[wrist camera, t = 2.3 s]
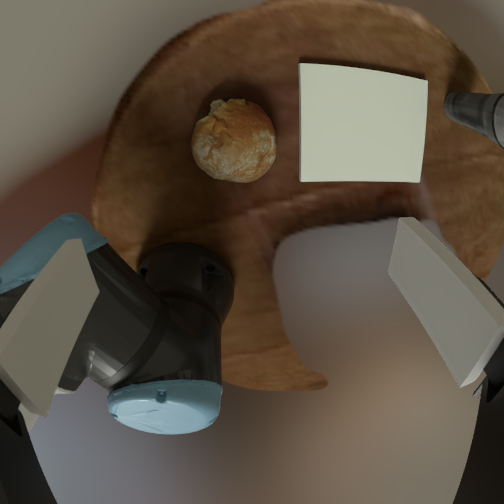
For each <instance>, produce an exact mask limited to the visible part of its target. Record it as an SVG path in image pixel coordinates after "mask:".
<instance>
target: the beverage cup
mask: <svg viewBox="0 0 504 504" xmlns="http://www.w3.org/2000/svg"><path fill="white" fill-rule="evenodd" d="M444 110H445V113H446V115H447V116H448V118H449V119H451V120H453V121H455V122H457V123H459V124H461V125H463V126H465V127H467V128H469V129H472V130H474V131H476V132H478V133H480V134H482V135H484V136H486V137H488V138H490V139H491V140H492V141H494V142H495V143H497V144H498V145H499V146H500V147H502V148H503V149H504V93H499V94H484V93H468V92H455V93H454V92H452V93H449V94H448V95H447V96H446V98H445V101H444Z"/></svg>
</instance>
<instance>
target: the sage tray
mask: <svg viewBox="0 0 504 504" xmlns="http://www.w3.org/2000/svg"><path fill="white" fill-rule="evenodd" d="M298 70H299V180H300V181H301V182H312V181H391V182H420V175H421V168H422V160H423V151H424V141H425V130H426V115H427V92H428V81H426V80H422V79H417V78H413V77H408V76H403V75H398V74H393V73H388V72H382V71H375V70H369V69H362V68H354V67H345V66H335V65H323V64H307V63H299V64H298Z"/></svg>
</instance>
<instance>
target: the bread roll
mask: <svg viewBox="0 0 504 504" xmlns="http://www.w3.org/2000/svg"><path fill="white" fill-rule="evenodd" d="M210 106H211V108H210V109H209V110H208V113H207V116H206V117H204V118H202V119H200V120H199V121H198V122H196V126H195V128H194V131H193V135H192V139H191V148H192V149H191V150H192V155H193V158H194V160H195V162H196V164H197V166H198V167H199V168H201V169H202V170H203V171H205V172H206V173H207V174H208V175H209V176H211V177H213V178H215V179H221V180H227V181H233V182H239V183H249V182H252V181H255V180H257V179H259V178H260V177H262V176H263V175H264V174H265V173H266V172H267V171H268V170H269V169H270V167H271V166H272V164H273V162H274V160H275V157H276V136H275V130H274V127H273V124H272V122H271V120H270V118H269V116H268V115H267V114H266V113H265V112H264V110H263V109H262V108H261V107H260V106H259V105H257V104H254V103H251V102H249V101H247V99H236V98H233V97H231V96H228V97H226V98H225V99H224V100H221V99H219V100H216V101H213V102H212V103H211V104H210Z"/></svg>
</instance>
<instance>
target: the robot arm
mask: <svg viewBox="0 0 504 504" xmlns="http://www.w3.org/2000/svg"><path fill="white" fill-rule="evenodd" d="M108 242H109V240H108V239H107V238H106V237H102V236H101V235H100V234H99V233H98V232H97V231H96V230H95V229H94V228H93V227H92V226H91V225H90V224H89V223H88V222H87V220H85V218H83V217H82V216H80V215H79V214H75V213H68V214H65V215H62V216H60V217H58V218H57V219H55V220H54V221H52V222H51V223H50V224H48V225H47V226H46V227H44V228H43V229H42V230H40V231H39V232H38V233H37V234H35V235H34V236H33V237H32V238H31V239H29V240H28V241H27V242H26V243H25V244H24V245H23V246H21V247H20V248H19V249H18V250H17V251H16V252H15V253H14V254H13V255H12V256H11V257H10V258H9V259H8V260H7V261H6V262H5V263H4V264H3V265H2V266H1V268H0V504H57V502H56V500H55V498H54V496H53V494H52V492H51V490H50V487H49V485H48V483H47V481H46V478H45V476H44V474H43V472H42V469H41V467H40V464H39V461H38V459H37V456H36V454H35V451H34V448H33V445H32V442H31V440H30V436H29V431H30V429H31V428H32V426H33V425H34V423H35V422H36V420H37V419H38V417H39V416H40V415H41V416H45V417H46V416H47V414H48V411H49V408H50V405H51V402H52V399H53V396H54V395H55V394H71V393H74V392H75V391H76V390H77V389H78V387H79V386H80V384H81V383H82V382H83V380H84V379H85V378H86V377H89V378H90V379H92V380H93V381H95V382H96V383H98V384H99V385H101V386H102V387H103V388H105V389H106V390H107V391H109V393H110V394H109V395H108V397H107V403H108V410H109V412H110V413H111V415H112V416H113V417H114V418H115V419H116V420H118V421H119V422H121V423H122V424H124V425H127V426H129V427H132V428H134V429H137V430H141V431H146V432H151V433H158V434H184V433H190V432H195V431H198V430H201V429H204V428H206V427H208V426H209V425H211V424H212V423H213V422H214V421H215V420H216V418H217V416H218V415H219V411H220V399H221V394H222V392H223V388H222V386H221V385H222V382H221V327H222V325H223V323H224V321H225V319H226V317H227V315H228V313H229V311H230V309H231V307H232V303H233V299H234V282H233V277H232V274H231V272H230V270H229V268H228V267H227V265H226V264H225V263H224V261H223V260H222V259H221V258H220V257H218V256H217V255H216V254H214V253H213V252H211V251H210V250H208V249H206V248H203V247H201V246H198V245H194V244H189V243H171V244H166V245H163V246H160V247H158V248H156V249H154V250H153V251H151V252H150V253H149V254H147V255H146V256H145V258H144V259H143V260H142V262H141V263H140V265H139V268H138V270H137V272H135V271H134V270H133V269H132V268H131V267H130V266H129V265H128V264H127V263H126V262H125V261H124V260H123V259H122V258H121V257H120V255H119V254H118V253H117V252H116V251H115V250H114V249H113V248H112V247H111V246H110V245H109V243H108ZM388 274H389V275H390V277H391V278H392V280H393V281H394V283H395V284H396V285H397V287H398V288H399V290H400V291H401V293H402V294H403V296H404V297H405V299H406V300H407V302H408V303H409V305H410V306H411V308H412V309H413V311H414V312H415V314H416V315H417V317H418V318H419V320H420V322H421V323H422V325H423V326H424V328H425V330H426V331H427V333H428V334H429V336H430V338H431V339H432V341H433V342H434V344H435V346H436V348H437V349H438V351H439V352H440V354H441V356H442V358H443V359H444V361H445V363H446V365H447V366H448V368H449V370H450V372H451V374H452V375H453V377H454V379H455V381H456V383H457V384H458V386H459V388H460V387H463V386H465V385H467V384H470V383H472V382H474V381H475V380H476V379H477V378H478V376H479V375H480V374H481V372H482V371H483V370H484V371H485V373H486V375H487V376H486V377H485V379H484V380H483V381H482V383H481V384H480V385H479V386H478V388H477V389H476V390H475V392H474V393H473V397H475V396H476V395H477V394H478V393H479V392H480V390H482V391H481V395H480V396H479V398H478V399H480V404H479V410H478V416H477V421H476V426H475V431H474V435H473V440H472V444H471V448H470V452H469V455H468V459H467V463H466V466H465V469H464V473H463V476H462V479H461V482H460V485H459V488H458V491H457V493H456V496H455V499H454V501H453V504H504V304H503V303H502V301H501V300H500V299H499V298H497V296H496V295H495V293H494V292H493V291H491V289H490V288H489V287H488V286H487V285H486V284H485V282H484V281H483V280H481V279H480V278H478V277H477V276H475V275H474V274H472V273H471V272H470V271H469V270H468V269H467V268H466V266H465V265H464V264H463V263H462V262H461V261H460V260H459V259H458V258H457V257H456V256H455V255H454V254H453V253H452V252H451V251H450V250H449V249H448V248H446V247H445V246H444V245H443V244H442V243H441V242H440V241H439V240H438V239H437V238H436V237H435V236H434V235H433V234H432V233H430V232H429V231H428V230H427V229H426V228H425V227H424V226H423V225H422V224H421V223H420V222H418V221H417V220H416V219H415V218H414V217H406V218H399V221H398V227H397V232H396V238H395V242H394V247H393V252H392V256H391V260H390V265H389V269H388Z"/></svg>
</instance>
